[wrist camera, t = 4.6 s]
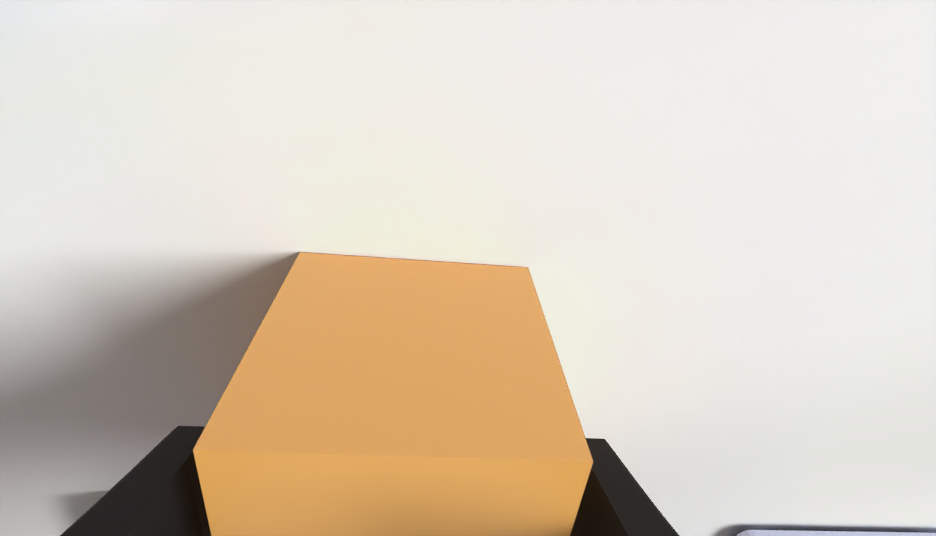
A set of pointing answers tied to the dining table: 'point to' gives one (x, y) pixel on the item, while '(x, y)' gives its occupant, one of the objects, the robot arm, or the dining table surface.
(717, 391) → the dining table surface
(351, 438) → the orange cube
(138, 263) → the dining table surface
